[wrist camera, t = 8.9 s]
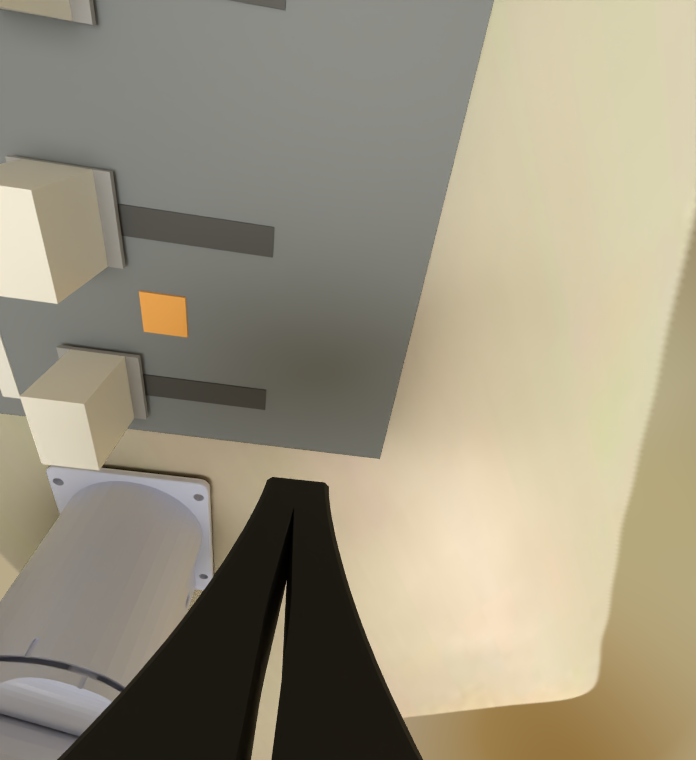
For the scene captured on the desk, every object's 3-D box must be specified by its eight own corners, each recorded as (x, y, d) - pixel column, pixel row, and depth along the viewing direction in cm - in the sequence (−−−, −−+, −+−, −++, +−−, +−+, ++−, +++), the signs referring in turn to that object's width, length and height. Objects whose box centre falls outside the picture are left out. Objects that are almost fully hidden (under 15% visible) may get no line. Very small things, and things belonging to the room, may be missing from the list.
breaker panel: (378, 436, 21) (380, 460, 20) (-16, 388, 20) (-42, 409, 19) (505, -97, 11) (524, -120, 10) (-254, -248, 10) (-345, -297, 9)
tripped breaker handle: (126, 266, 15) (76, 306, 13) (33, 253, 15) (-36, 291, 12) (112, 171, 14) (52, 193, 11) (9, 155, 13) (-78, 173, 11)
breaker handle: (148, 416, 19) (113, 472, 16) (74, 407, 19) (27, 462, 16) (140, 355, 17) (100, 406, 14) (58, 344, 17) (3, 394, 14)
